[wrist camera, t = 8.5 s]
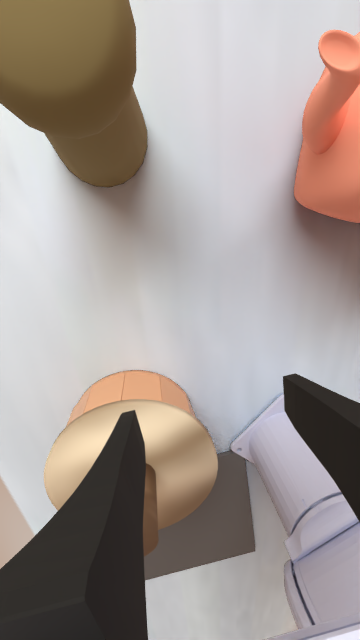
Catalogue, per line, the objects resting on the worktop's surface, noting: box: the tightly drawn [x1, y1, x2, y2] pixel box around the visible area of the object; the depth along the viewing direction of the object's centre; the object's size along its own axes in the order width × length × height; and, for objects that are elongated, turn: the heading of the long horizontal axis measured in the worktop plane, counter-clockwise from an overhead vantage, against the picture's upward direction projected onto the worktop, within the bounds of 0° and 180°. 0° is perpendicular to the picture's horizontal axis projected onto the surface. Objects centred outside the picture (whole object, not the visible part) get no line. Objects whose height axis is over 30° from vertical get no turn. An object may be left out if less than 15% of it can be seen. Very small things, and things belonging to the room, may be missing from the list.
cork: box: [0, 0, 147, 187], centre depth 12 cm, size 6×6×11 cm
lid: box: [44, 399, 218, 556], centre depth 18 cm, size 13×13×5 cm
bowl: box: [67, 370, 196, 426], centre depth 22 cm, size 11×11×4 cm
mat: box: [144, 451, 255, 580], centre depth 30 cm, size 16×17×1 cm
